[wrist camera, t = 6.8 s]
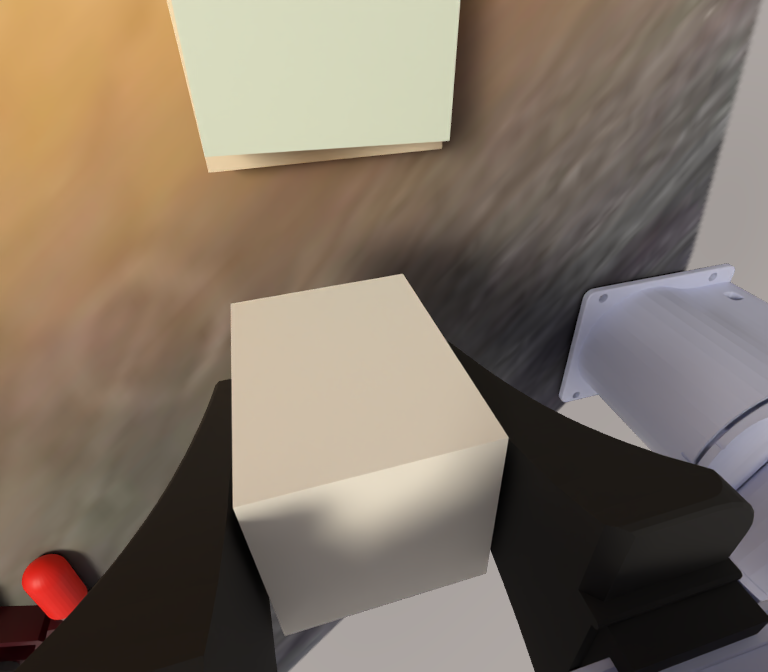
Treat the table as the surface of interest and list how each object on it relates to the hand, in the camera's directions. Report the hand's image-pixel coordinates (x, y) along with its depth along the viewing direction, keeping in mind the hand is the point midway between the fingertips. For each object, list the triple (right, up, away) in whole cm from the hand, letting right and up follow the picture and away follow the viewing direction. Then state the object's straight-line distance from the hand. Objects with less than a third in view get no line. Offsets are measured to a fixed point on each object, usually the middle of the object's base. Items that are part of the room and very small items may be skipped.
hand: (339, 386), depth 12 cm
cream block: (0, +1, +1) cm, 2 cm away
